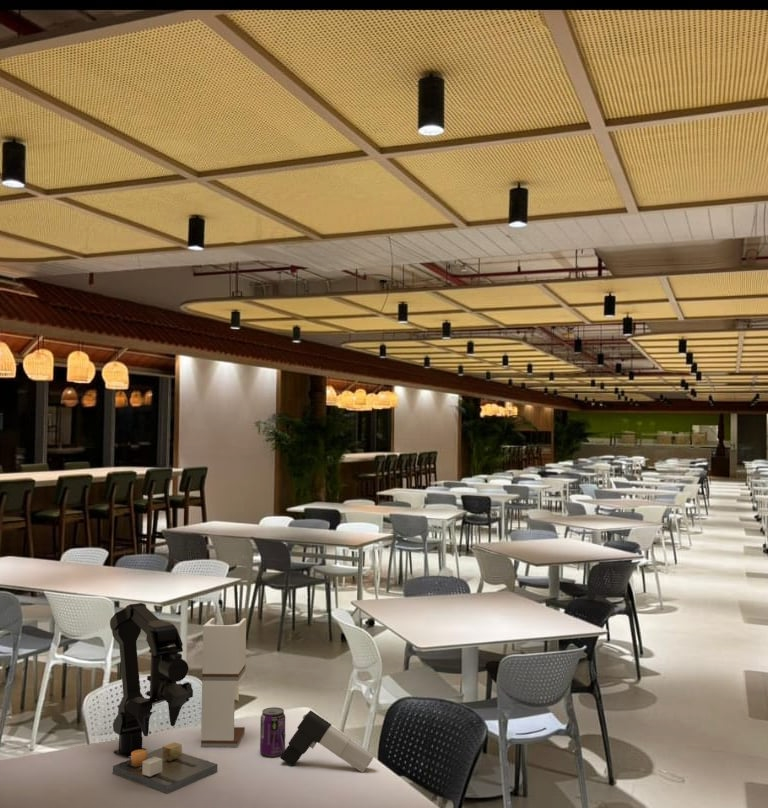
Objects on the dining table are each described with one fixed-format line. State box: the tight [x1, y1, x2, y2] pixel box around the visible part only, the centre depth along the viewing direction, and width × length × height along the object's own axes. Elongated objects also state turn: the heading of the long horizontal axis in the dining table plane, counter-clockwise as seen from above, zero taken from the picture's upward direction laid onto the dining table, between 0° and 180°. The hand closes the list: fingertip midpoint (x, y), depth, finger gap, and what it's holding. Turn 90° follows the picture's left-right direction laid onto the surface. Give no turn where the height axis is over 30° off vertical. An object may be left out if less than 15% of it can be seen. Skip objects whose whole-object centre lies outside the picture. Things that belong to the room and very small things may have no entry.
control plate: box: [112, 746, 218, 794], centre depth 213 cm, size 22×17×2 cm
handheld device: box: [279, 710, 375, 773], centre depth 217 cm, size 4×22×15 cm, turn 78°
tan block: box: [162, 742, 183, 761], centre depth 217 cm, size 3×4×3 cm
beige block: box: [142, 757, 162, 777], centre depth 207 cm, size 3×4×3 cm
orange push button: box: [130, 749, 148, 767], centre depth 213 cm, size 4×4×3 cm
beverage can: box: [259, 706, 286, 757], centre depth 227 cm, size 7×7×12 cm
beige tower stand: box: [200, 617, 247, 749], centre depth 238 cm, size 11×11×35 cm
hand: (159, 730), depth 213 cm, fingers open, 9 cm apart
